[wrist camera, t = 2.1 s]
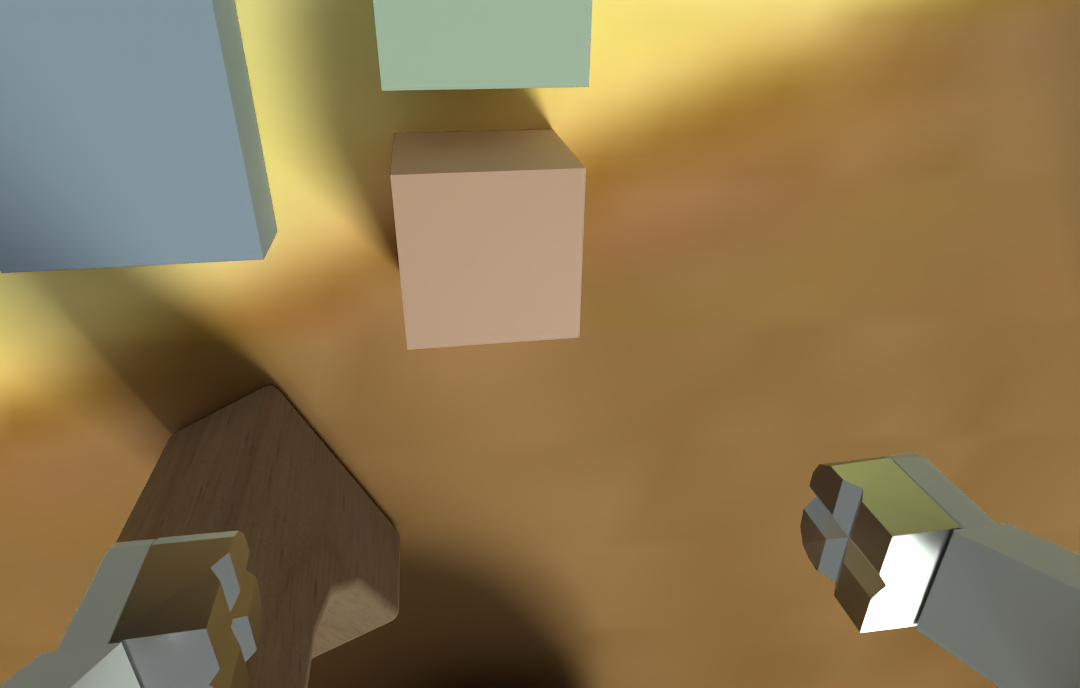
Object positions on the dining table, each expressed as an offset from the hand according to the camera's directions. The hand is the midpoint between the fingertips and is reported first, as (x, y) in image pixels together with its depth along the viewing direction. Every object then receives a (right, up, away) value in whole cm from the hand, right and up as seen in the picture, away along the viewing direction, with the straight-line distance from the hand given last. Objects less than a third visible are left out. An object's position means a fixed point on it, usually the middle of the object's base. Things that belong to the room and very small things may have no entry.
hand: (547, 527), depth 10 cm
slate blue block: (-12, +9, +10) cm, 18 cm away
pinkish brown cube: (-2, +7, +13) cm, 15 cm away
